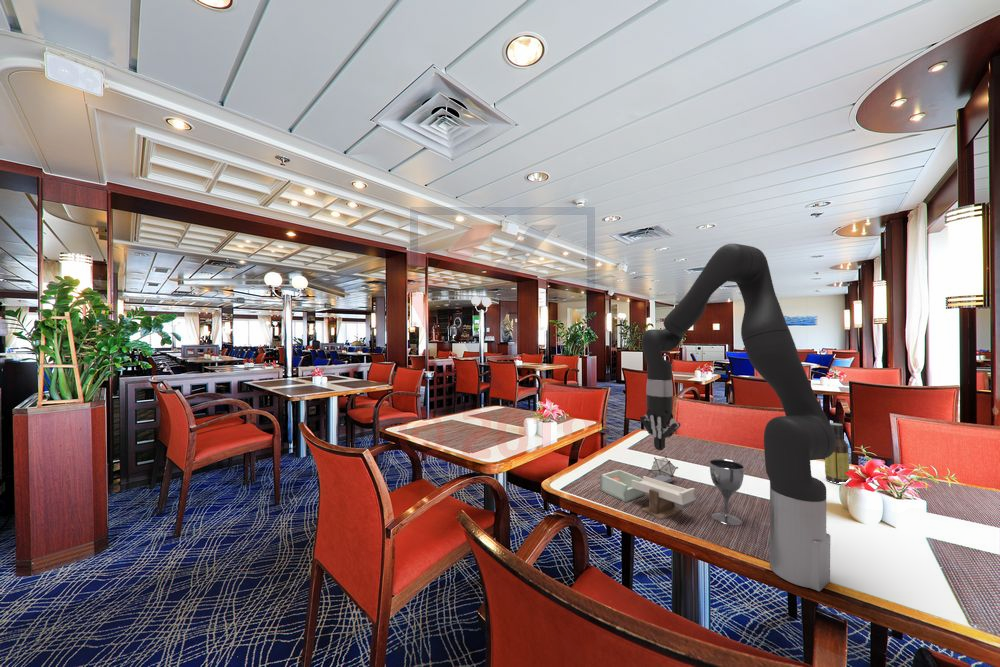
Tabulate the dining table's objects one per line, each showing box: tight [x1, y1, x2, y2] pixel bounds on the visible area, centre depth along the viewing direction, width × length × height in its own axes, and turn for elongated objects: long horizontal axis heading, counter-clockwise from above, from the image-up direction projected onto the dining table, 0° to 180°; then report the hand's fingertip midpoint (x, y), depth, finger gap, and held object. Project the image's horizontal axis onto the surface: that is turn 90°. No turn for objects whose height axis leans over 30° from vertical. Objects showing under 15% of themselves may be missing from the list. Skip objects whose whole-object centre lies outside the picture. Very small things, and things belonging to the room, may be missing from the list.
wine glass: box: [709, 458, 745, 526], centre depth 100 cm, size 8×8×15 cm
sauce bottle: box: [824, 422, 850, 483], centre depth 126 cm, size 6×6×20 cm
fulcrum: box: [641, 489, 683, 521], centre depth 105 cm, size 6×10×6 cm, turn 122°
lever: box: [632, 475, 697, 510], centre depth 107 cm, size 16×14×4 cm
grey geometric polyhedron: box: [648, 455, 679, 478], centre depth 126 cm, size 9×8×10 cm
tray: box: [599, 469, 646, 503], centre depth 117 cm, size 10×9×5 cm
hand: (659, 449), depth 114 cm, fingers closed
